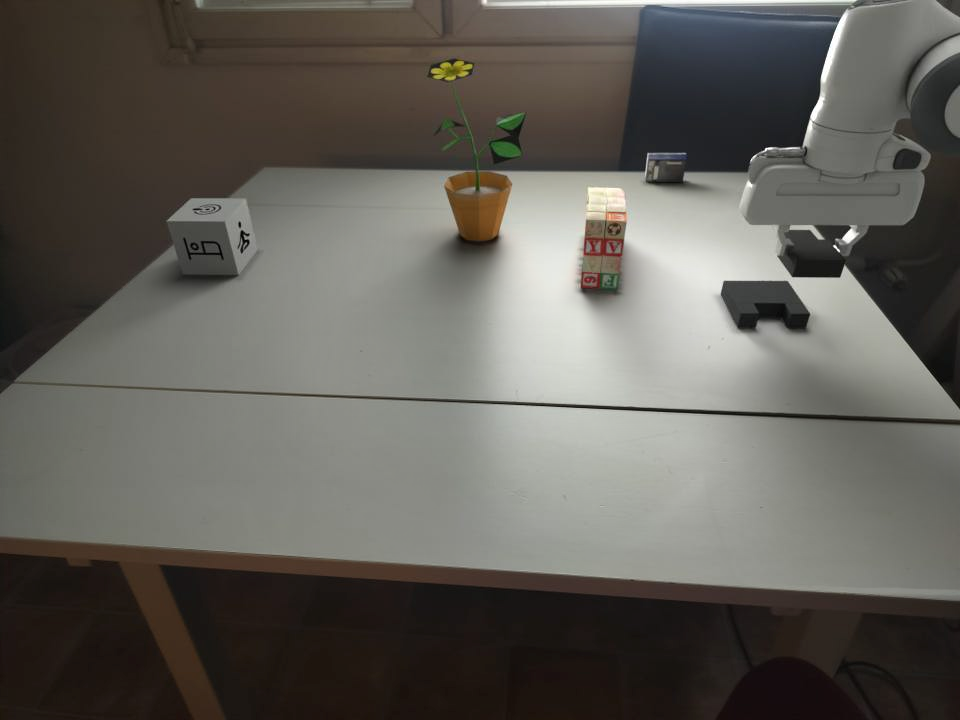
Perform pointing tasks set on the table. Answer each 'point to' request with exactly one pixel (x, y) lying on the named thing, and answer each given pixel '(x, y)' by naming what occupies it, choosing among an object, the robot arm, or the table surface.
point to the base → (764, 303)
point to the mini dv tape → (665, 167)
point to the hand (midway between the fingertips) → (811, 254)
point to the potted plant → (477, 192)
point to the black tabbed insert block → (812, 256)
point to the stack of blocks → (603, 238)
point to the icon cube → (213, 236)
